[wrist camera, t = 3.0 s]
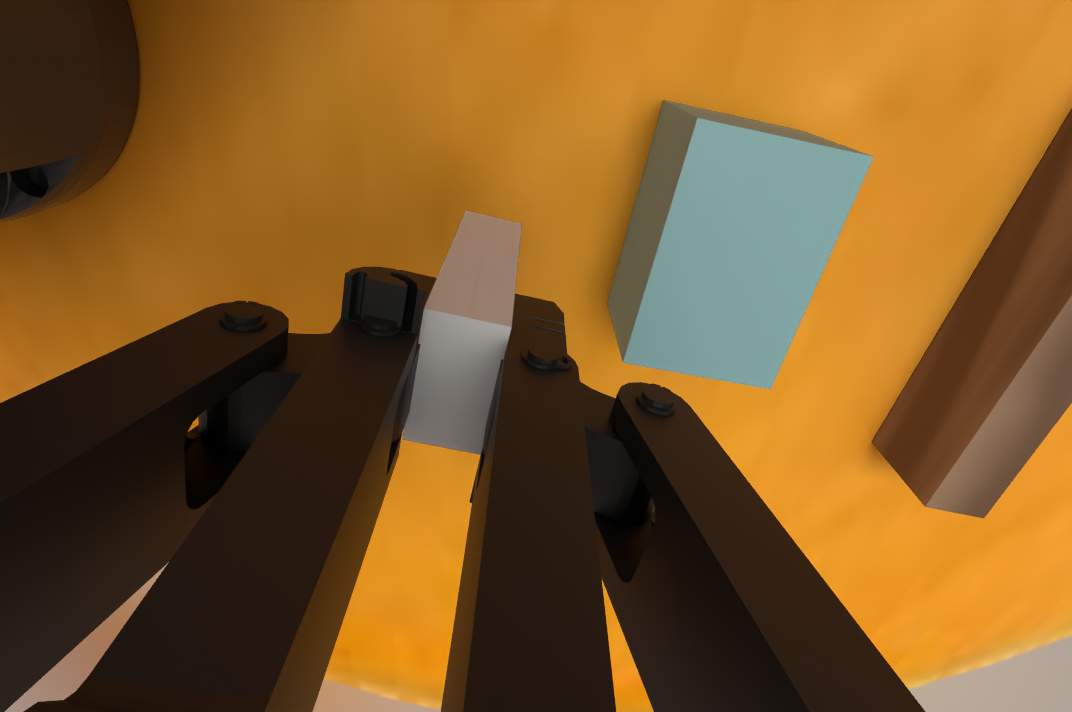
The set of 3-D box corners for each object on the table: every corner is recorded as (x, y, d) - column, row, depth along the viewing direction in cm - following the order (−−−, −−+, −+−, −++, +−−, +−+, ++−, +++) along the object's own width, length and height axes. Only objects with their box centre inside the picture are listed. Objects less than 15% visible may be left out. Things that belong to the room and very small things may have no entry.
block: (606, 301, 29) (622, 362, 23) (662, 99, 25) (697, 118, 19) (728, 324, 29) (770, 389, 24) (802, 130, 25) (873, 156, 20)
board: (871, 442, 32) (925, 506, 28) (1090, 79, 24) (1214, 89, 20) (923, 452, 33) (983, 518, 28) (1155, 97, 24) (1292, 112, 20)
